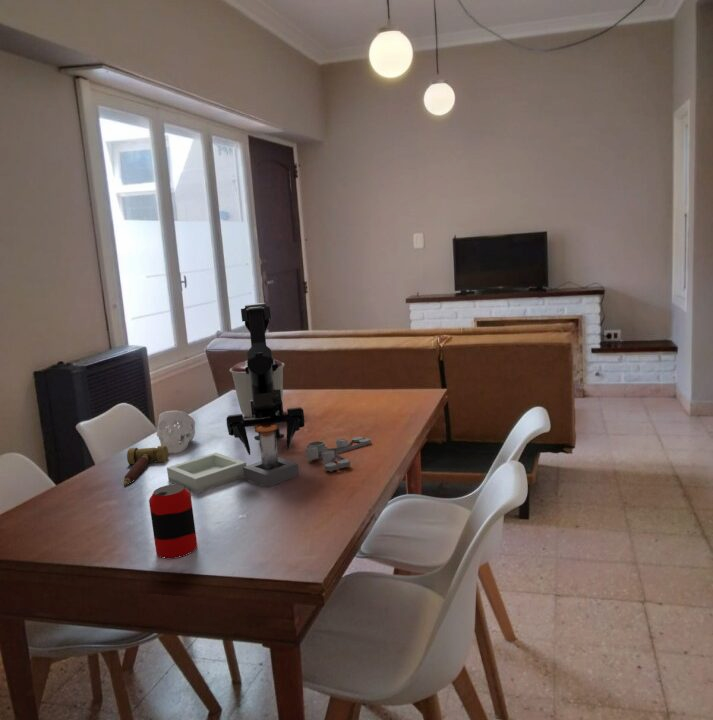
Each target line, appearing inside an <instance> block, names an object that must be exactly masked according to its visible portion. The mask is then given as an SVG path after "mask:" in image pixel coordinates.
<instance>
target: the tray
mask: <svg viewBox="0 0 713 720" xmlns="http://www.w3.org/2000/svg"><path fill="white" fill-rule="evenodd" d="M245 466H247V462H246V461H243V460H239V459H237V458H234V457H231V456H229V455H228V456H227V455H226V454H222V453H220V452H213V453H210V454H207V455H204V456H200V457H196V458H193V459H190V460H187V461H184V462H180V463H177V464H174V465H171V466H168V467H167V466H166V470H167V471H166V472H167V473H166V474H167V477H168V482H169V483H172V482H173V483H172V484H174V483H175V484H176V485H183V486H184V487H185V488H186V489H187V490H188V491H191V492H193V493H195V492H196V493H195V494H199V492H200V493H202V492H205V491H209V490H211V489H213V488H216V487H219V486H223V485H225V484H228V483H230V482H234V481H237V480H240V479H242V478H243V479H244V471H243V467H245ZM175 484H174V485H175Z"/></svg>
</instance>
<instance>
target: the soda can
mask: <svg viewBox="0 0 713 720" xmlns="http://www.w3.org/2000/svg"><path fill="white" fill-rule="evenodd" d="M148 504H149V509H150V518H151V524H152V532H153V539H154V546H155V553H156V555H157V556H159V557H160V556H161V557H160V558H162V557H165V558H164V559H167V558H171V559H176V558H175V557H179V556H182V557H184V556H183V555H185V556H187V555H186V554H188V553H190V552H191V553H193V552H194V551H195V550H196V548H197V546H198V540H197V533H196V526H195V525H196V523H195V519H194V518H195V517H194V511H193V502H192V494H191V492H190V490H188V489H186V488H185V487H184V486H183V485H177V484H167V485H163V486H160V487H158V488H156V489H155V490H153V492H152V494H151V496H150V497H149V500H148ZM194 549H195V550H194ZM193 550H194V551H193ZM192 551H193V552H192ZM191 553H190V554H191ZM188 555H189V554H188ZM179 558H180V557H179Z"/></svg>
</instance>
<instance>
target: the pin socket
mask: <svg viewBox="0 0 713 720" xmlns="http://www.w3.org/2000/svg"><path fill="white" fill-rule="evenodd" d="M278 462H279V467H278V468H275V469H272V470H269V471H267V470H264V469H262V460H260V461H257V462H254V463H252V464H248V465H246V466H245V467H243V471H244V477H243V479H244V480H246V481H249V482H252V483H254V484H256V485H260V486H263V487H265V488H270V487H271V486H275V485H277V484H279V483H282V482H285V481H287V480H291V479H293V478H298V477H299V476H300V469H299V463H297V462H294V461H290V460H287V459H283V458H282V457H281V458H280V457H278Z"/></svg>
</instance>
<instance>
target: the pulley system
mask: <svg viewBox="0 0 713 720" xmlns="http://www.w3.org/2000/svg"><path fill="white" fill-rule="evenodd" d="M354 442H359V443H357V444H354V445H352V444H351V443H354ZM370 443H371V444H372V441H371V438H366V437H365V438H364V437H362V436H356V437H353V438H352V440H351V441H350V442H349V443H348V439H347V438H338V439H336V440H335V445H336V447H331V448H328V447H327V446H326V442H325V441H324V440H318V441H317V440H316V441H311V442H308V443H306V445H305V446H306V448H305V454H306V459H307V460H308V461H309V460H310V461H311V460H322V464H324V465H323V468H324V469H323V470H324V471H329V472H330V473H332V472H334V471H335V470H337V469H343V468H347V467H350V466H351V461H350V459H347V458H345V457H343V456H341V455H339V454H341V453H345V452H348V450H349V451H352V450H355V449H359V448H362V447H364V446H368V445H367V444H369V445H371V444H370ZM361 446H362V447H361ZM358 447H359V448H358ZM336 459H339V461H337V463H335V462H336Z"/></svg>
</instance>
